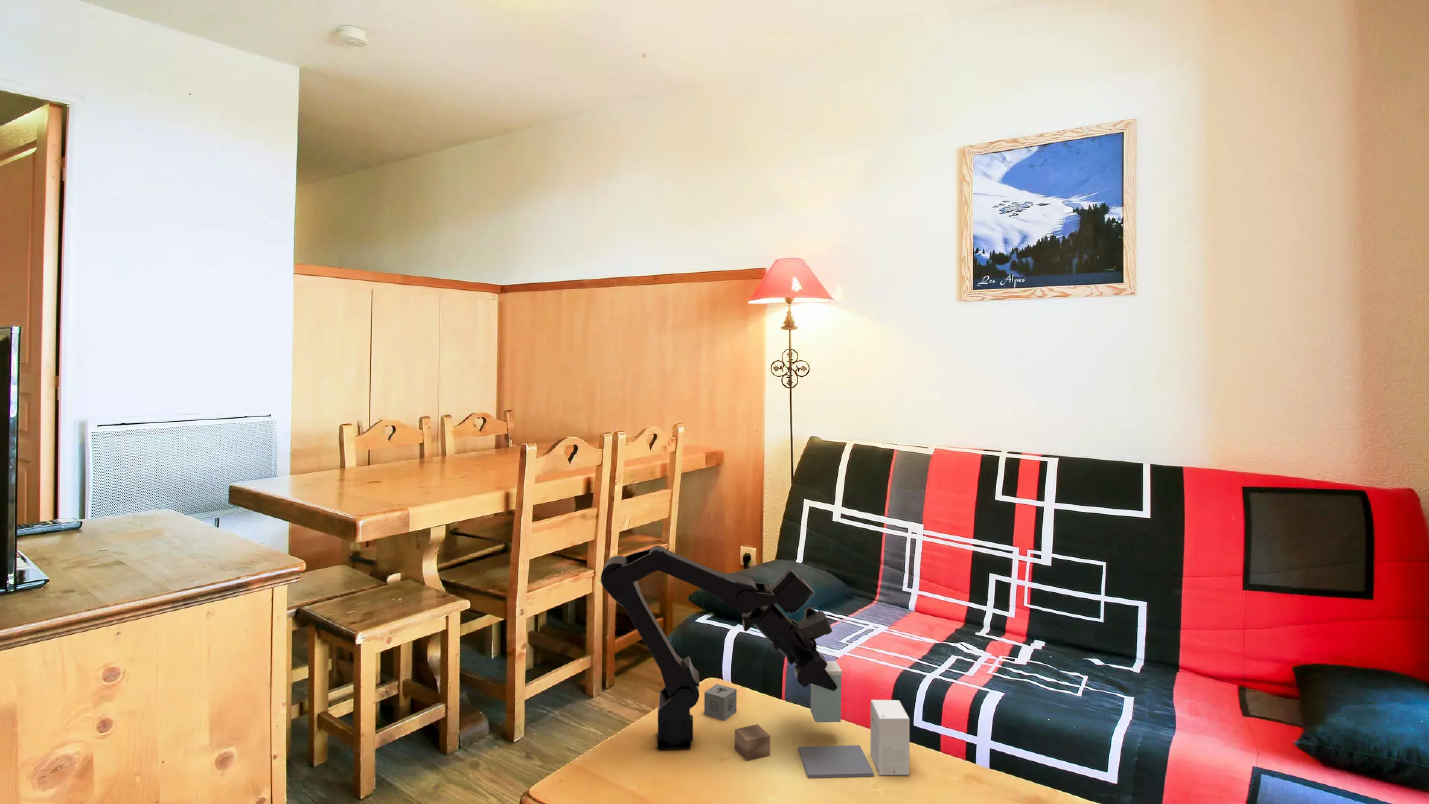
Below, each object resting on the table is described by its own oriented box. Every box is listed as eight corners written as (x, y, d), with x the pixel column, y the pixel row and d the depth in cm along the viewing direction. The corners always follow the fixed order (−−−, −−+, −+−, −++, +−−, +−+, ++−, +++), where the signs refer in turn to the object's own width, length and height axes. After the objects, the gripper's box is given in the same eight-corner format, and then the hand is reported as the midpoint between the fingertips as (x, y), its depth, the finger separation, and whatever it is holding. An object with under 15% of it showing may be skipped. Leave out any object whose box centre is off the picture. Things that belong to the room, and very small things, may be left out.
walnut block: (746, 762, 135) (746, 740, 135) (734, 749, 139) (734, 729, 139) (769, 756, 137) (770, 735, 137) (757, 744, 141) (757, 724, 141)
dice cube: (736, 712, 155) (736, 689, 155) (724, 721, 151) (724, 697, 150) (716, 706, 157) (716, 683, 157) (704, 715, 153) (704, 692, 153)
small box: (909, 776, 130) (910, 719, 130) (878, 776, 130) (879, 718, 130) (899, 753, 138) (899, 699, 138) (869, 753, 138) (870, 698, 138)
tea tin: (814, 722, 140) (815, 671, 140) (810, 710, 146) (810, 661, 145) (841, 722, 141) (842, 671, 140) (835, 710, 146) (836, 660, 146)
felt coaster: (807, 778, 129) (807, 774, 129) (798, 749, 139) (798, 746, 139) (873, 776, 130) (873, 773, 130) (859, 748, 140) (859, 745, 140)
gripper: (816, 615, 133) (874, 673, 134) (799, 586, 152) (850, 637, 153) (773, 658, 133) (832, 716, 134) (761, 623, 151) (812, 675, 152)
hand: (832, 683), depth 143 cm, fingers closed on tea tin, 5 cm apart
